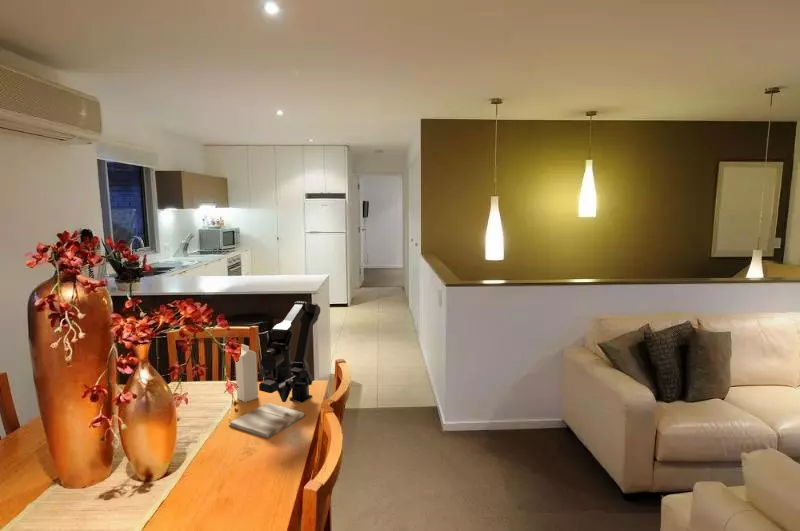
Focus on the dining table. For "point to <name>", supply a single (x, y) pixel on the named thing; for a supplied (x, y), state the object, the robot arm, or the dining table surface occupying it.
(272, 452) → the dining table surface
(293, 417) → the loose plank
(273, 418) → the laid planks
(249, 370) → the milk
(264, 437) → the underlay mat
